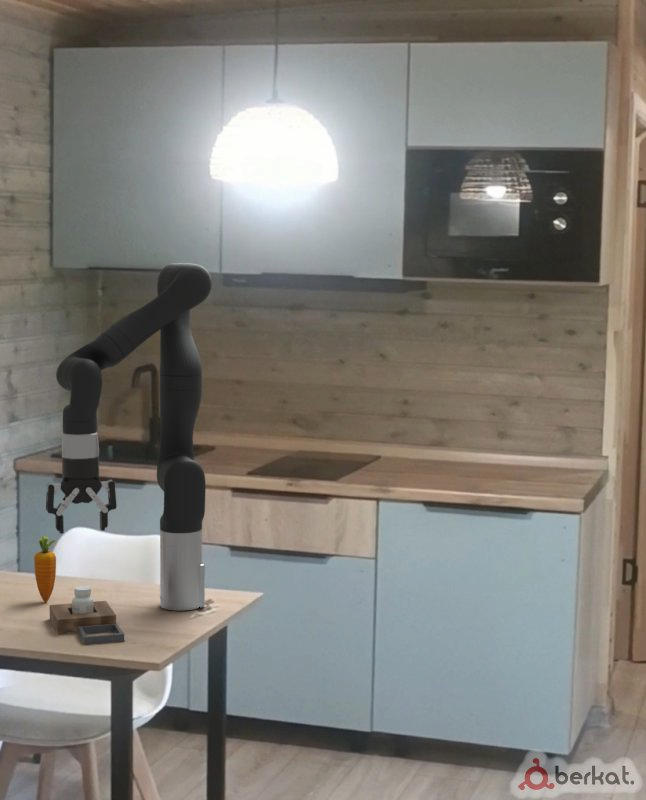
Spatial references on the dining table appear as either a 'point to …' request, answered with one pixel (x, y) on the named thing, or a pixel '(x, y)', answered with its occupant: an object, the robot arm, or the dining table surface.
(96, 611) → the socket block
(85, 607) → the pill bottle
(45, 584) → the carrot
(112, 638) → the tray
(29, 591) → the dining table surface
